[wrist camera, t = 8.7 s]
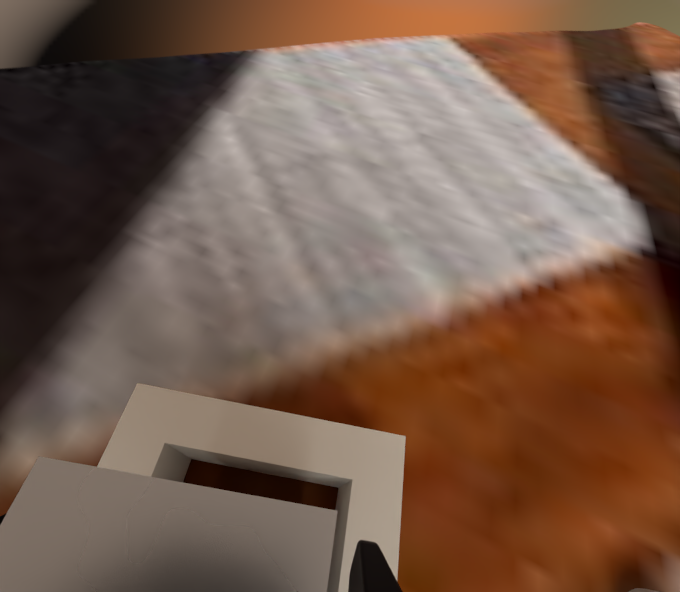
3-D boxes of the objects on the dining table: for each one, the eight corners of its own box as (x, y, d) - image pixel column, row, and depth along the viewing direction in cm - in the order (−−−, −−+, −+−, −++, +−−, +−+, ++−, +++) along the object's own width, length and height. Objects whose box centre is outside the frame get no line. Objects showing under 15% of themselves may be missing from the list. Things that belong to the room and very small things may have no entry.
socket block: (350, 792, 11) (377, 910, 8) (32, 735, 11) (-80, 832, 8) (381, 452, 17) (405, 435, 13) (168, 410, 16) (137, 382, 13)
